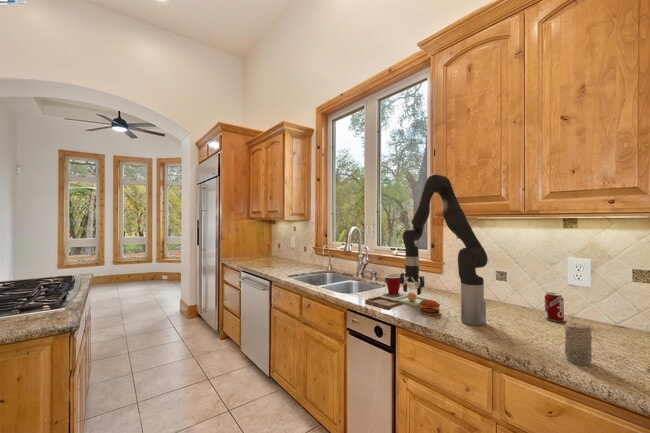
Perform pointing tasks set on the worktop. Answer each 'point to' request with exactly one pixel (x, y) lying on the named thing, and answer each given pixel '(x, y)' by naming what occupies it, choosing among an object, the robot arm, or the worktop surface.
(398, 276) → the plastic cup
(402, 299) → the dish
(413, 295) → the ball
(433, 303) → the hamburger
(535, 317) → the worktop surface
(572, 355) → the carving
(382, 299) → the tray
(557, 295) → the soda can
